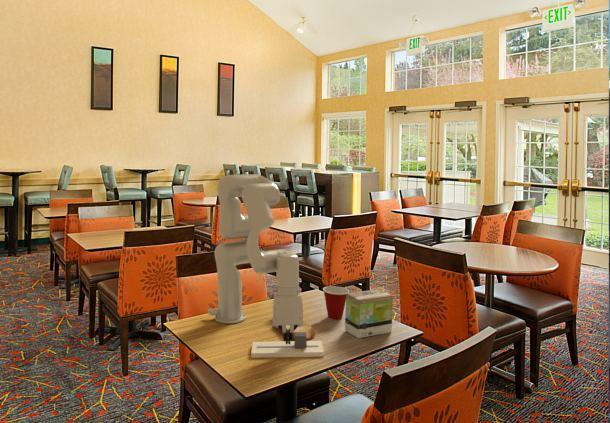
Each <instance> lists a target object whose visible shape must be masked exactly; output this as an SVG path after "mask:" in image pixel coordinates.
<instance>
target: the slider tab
mask: <svg viewBox="0 0 610 423" xmlns="http://www.w3.org/2000/svg"><path fill="white" fill-rule="evenodd" d="M294 338H295V339H294V341H295V348H307V335H306V332H294Z"/></svg>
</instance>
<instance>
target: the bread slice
mask: <svg viewBox="0 0 610 423" xmlns="http://www.w3.org/2000/svg"><path fill="white" fill-rule="evenodd" d="M303 323H304V326H301V327H297V328H296V329H295V330H294V331H293V333H292V340H295V338H294V332H306V335H307V341H313V339H314V338H315V334H316V332H315V330H314V328H313V327H312V326H311V325H310V324H308V323H305V322H303ZM273 328H274V329H275V330H276V331H278V332H279V333H280V334H281V335H283V336H284V333H283V331H282V330H281V329H280V328H278V327H273ZM286 329H287V331H289V329H290V325H286Z"/></svg>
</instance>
